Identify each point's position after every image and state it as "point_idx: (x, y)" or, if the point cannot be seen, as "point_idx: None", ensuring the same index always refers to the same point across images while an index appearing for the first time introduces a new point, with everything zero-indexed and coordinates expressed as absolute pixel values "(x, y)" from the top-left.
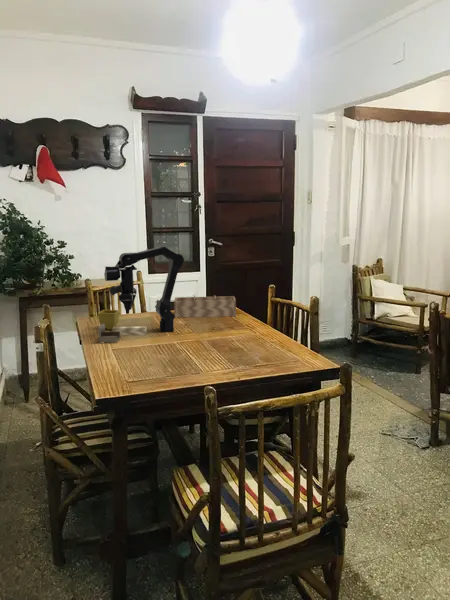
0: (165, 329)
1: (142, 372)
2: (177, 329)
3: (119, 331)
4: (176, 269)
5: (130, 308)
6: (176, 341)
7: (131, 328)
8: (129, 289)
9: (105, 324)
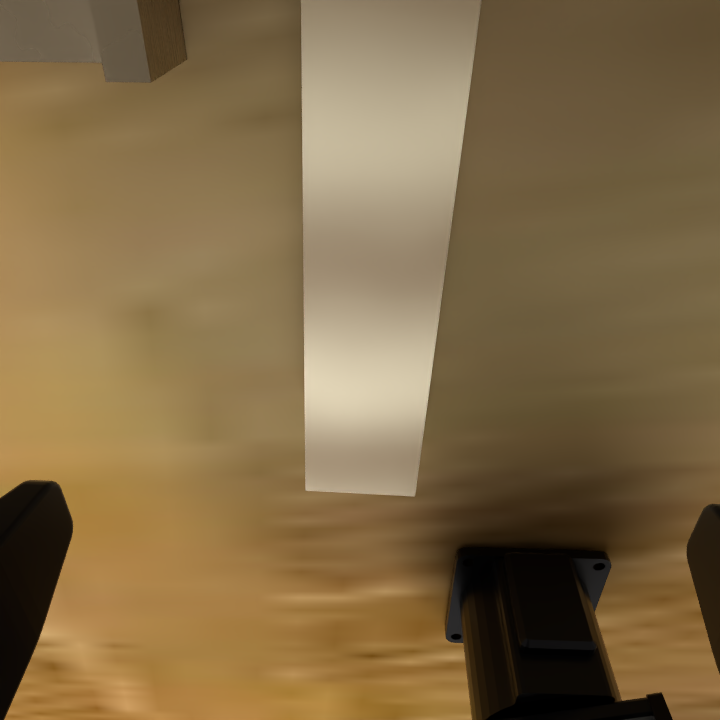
0: (466, 601)
1: None
2: None
3: (136, 75)
4: None
5: (703, 568)
6: (75, 639)
7: (304, 301)
8: None
9: None
